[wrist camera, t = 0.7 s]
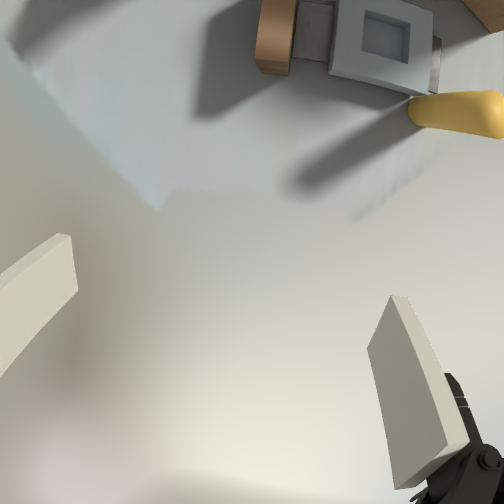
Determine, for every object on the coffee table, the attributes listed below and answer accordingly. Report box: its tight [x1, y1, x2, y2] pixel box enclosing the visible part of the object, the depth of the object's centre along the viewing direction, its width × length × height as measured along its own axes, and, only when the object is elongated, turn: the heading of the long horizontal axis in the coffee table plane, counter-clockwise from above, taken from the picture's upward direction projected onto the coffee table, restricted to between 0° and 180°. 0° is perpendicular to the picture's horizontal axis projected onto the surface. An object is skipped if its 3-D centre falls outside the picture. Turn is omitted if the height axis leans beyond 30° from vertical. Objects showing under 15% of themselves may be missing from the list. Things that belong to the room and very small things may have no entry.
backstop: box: [254, 0, 297, 76], centre depth 25 cm, size 13×3×9 cm, turn 173°
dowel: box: [408, 90, 504, 139], centre depth 24 cm, size 4×4×16 cm
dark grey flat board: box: [292, 1, 441, 94], centre depth 28 cm, size 8×19×1 cm, turn 83°
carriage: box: [328, 0, 433, 96], centre depth 26 cm, size 11×11×4 cm
